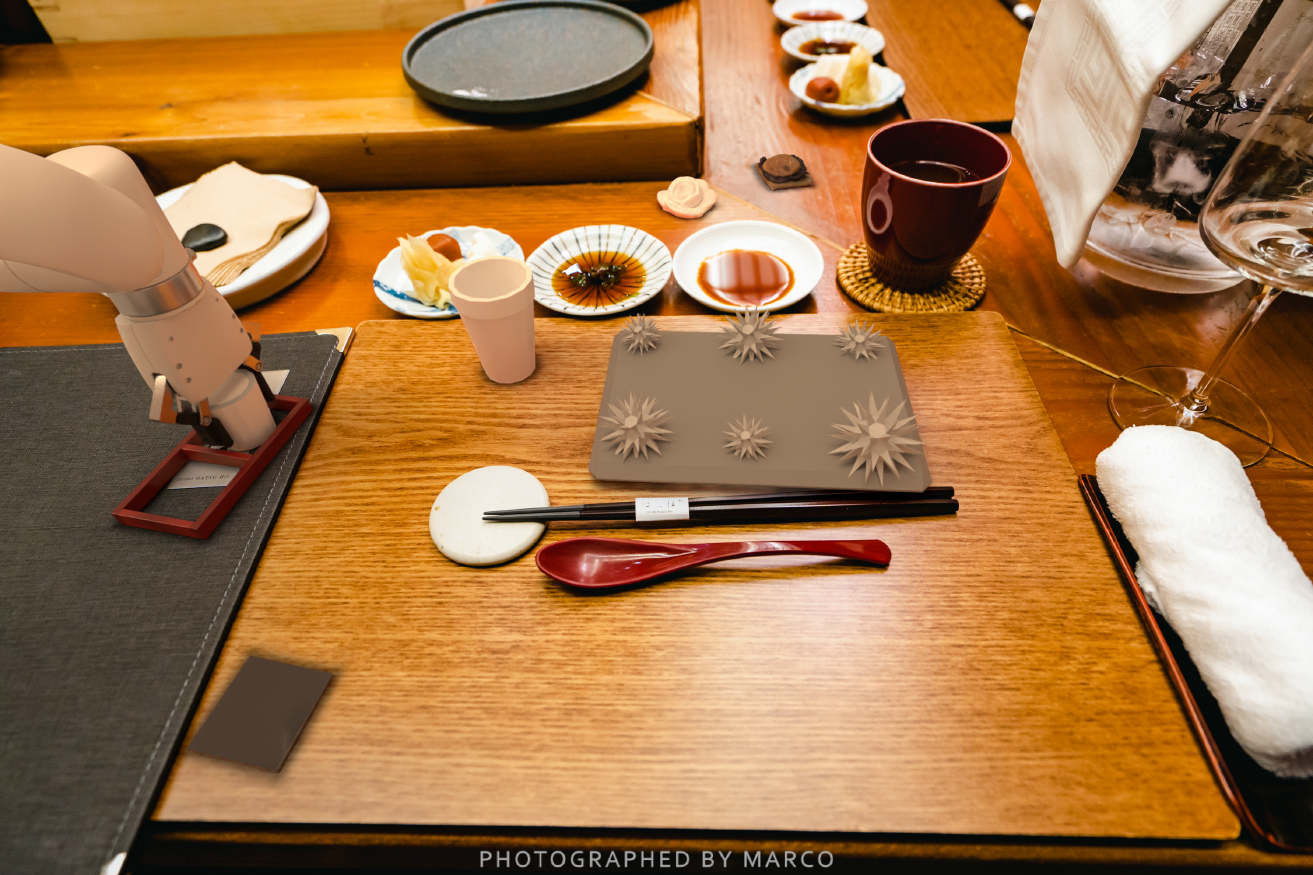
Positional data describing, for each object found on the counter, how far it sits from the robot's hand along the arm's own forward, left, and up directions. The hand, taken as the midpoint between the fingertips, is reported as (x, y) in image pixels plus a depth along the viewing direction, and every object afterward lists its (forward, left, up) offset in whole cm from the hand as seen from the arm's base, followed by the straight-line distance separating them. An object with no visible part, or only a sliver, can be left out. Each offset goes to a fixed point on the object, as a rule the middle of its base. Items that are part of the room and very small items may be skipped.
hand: (242, 420), depth 77 cm
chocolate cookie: (+77, -55, -2) cm, 94 cm away
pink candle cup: (0, 0, -2) cm, 2 cm away
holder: (-5, 0, -2) cm, 5 cm away
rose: (+63, -40, -2) cm, 74 cm away
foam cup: (+17, -26, -2) cm, 31 cm away
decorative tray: (+14, -57, -2) cm, 58 cm away
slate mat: (-29, -22, -2) cm, 36 cm away
